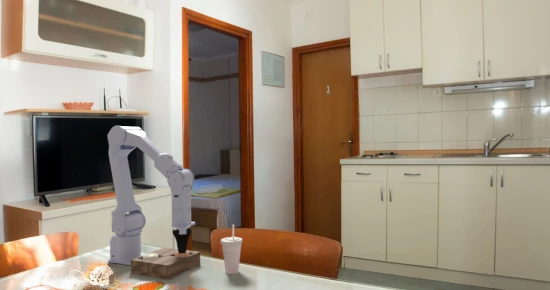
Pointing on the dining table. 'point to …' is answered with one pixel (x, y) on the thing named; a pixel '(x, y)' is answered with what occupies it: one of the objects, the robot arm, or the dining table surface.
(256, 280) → the dining table surface
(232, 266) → the smoothie
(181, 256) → the peach egg
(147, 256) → the knob cream
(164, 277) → the wooden egg crate
